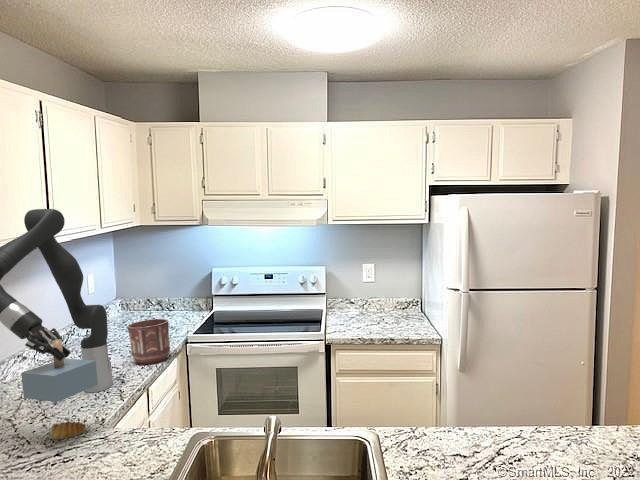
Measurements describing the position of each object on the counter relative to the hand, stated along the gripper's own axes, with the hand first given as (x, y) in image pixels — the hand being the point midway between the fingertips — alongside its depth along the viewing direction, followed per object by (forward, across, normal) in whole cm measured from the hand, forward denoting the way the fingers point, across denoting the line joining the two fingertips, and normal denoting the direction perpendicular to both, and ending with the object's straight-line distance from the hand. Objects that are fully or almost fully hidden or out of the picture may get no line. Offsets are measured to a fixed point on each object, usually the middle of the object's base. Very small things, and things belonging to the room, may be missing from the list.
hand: (65, 356), depth 141 cm
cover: (+6, 0, +9) cm, 11 cm away
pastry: (+16, +2, +20) cm, 25 cm away
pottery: (+17, +76, +18) cm, 80 cm away
